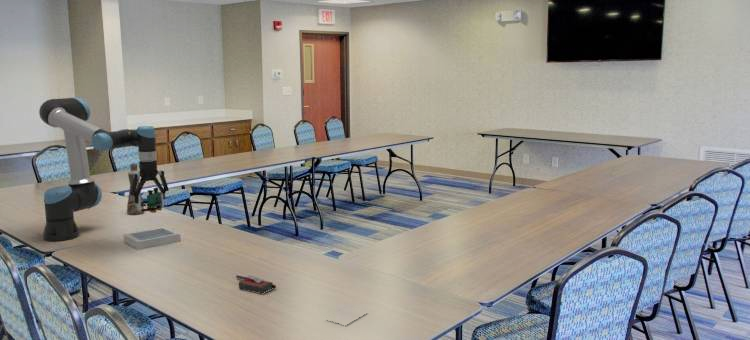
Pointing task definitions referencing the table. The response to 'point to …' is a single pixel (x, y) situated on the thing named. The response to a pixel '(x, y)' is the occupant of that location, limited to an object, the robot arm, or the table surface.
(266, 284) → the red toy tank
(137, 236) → the case
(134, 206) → the bottle
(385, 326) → the table surface
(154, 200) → the binoculars
